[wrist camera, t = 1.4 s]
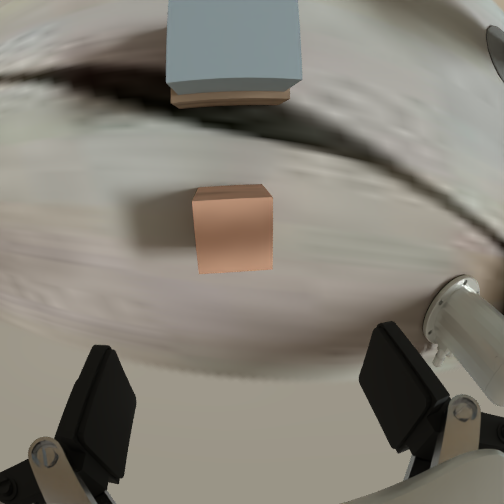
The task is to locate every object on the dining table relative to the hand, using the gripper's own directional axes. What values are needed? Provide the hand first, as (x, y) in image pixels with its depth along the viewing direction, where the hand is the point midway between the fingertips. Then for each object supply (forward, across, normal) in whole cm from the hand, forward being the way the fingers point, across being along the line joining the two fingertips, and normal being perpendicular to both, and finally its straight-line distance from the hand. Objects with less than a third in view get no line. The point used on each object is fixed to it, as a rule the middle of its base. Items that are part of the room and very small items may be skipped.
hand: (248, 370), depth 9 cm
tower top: (+15, 0, -15) cm, 21 cm away
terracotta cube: (+20, 0, 0) cm, 20 cm away
